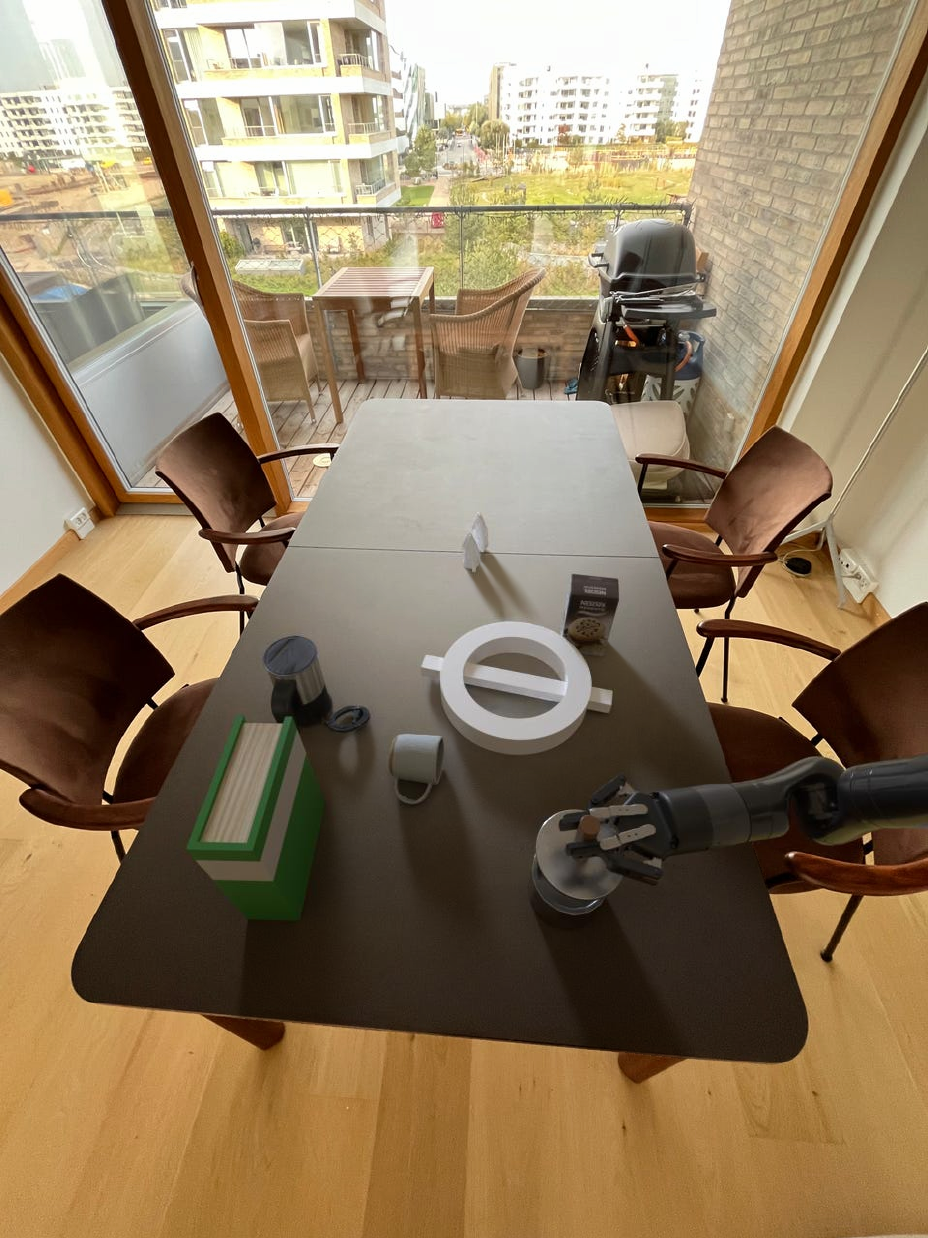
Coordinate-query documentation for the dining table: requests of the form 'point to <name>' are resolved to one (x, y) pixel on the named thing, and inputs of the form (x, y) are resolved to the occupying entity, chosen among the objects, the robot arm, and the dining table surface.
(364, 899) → the dining table surface
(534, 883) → the bowl
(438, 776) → the ceramic mug
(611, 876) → the bowl lid
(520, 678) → the ring with crossbar
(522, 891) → the dining table surface
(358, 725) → the milk frother
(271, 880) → the hardback book
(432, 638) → the dining table surface
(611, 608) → the coffee box
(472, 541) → the shaker set
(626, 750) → the dining table surface
